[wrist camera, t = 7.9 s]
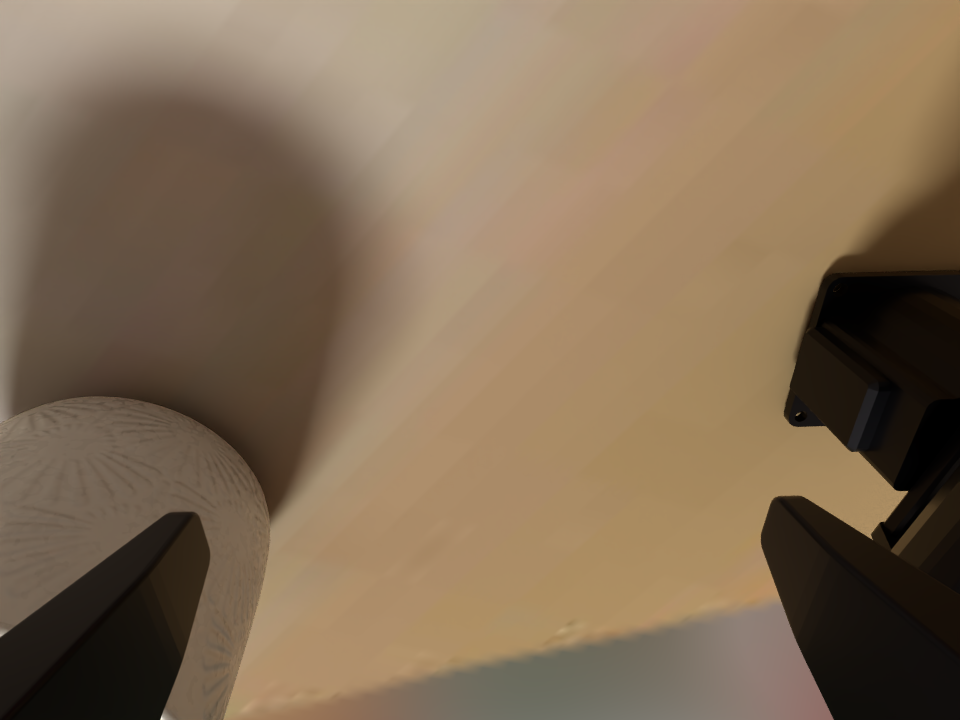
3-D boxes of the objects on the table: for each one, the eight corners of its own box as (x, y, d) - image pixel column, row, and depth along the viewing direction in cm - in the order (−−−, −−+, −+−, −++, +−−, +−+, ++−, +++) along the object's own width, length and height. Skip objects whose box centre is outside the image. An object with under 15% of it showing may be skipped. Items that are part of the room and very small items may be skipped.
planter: (-69, 480, 25) (-401, 762, 15) (99, 298, 21) (-199, 517, 11) (183, 622, 29) (51, 904, 20) (354, 493, 26) (294, 763, 16)
